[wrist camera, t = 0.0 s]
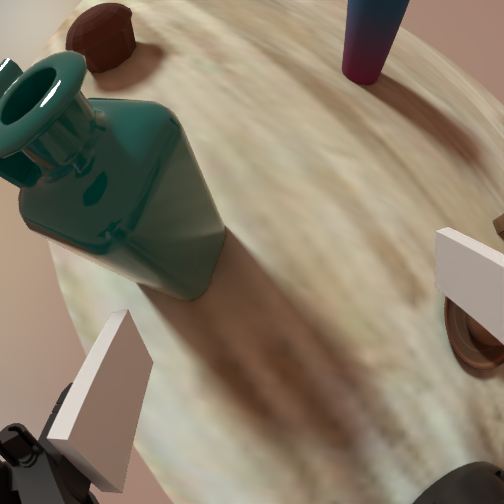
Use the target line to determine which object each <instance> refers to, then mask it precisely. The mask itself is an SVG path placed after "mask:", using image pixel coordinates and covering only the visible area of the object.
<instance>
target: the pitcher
mask: <svg viewBox="0 0 504 504" xmlns="http://www.w3.org/2000/svg"><path fill="white" fill-rule="evenodd" d="M86 73H87V65H86V59H85V56H84V55H82V54H80V53H77V52H75V51H65V52H59V53H55V54H53V55H51V56H49V57H47V58H45V59H43V60H41V61H39V62H37V63H36V64H34V65H33V66H32V67H30V68H29V69H28V70H26V71H25V72H24V73H23V72H22V70H21V69H20V67H19V66H18V65H17V64H16V63H15V62H13V61H12V60H10V59H4V60H3V61H2V62H1V63H0V177H2V178H3V179H5V180H7V181H8V182H10V183H12V184H14V185H16V186H17V187H19V188H20V192H19V196H18V201H19V212H20V215H21V217H22V218H23V220H24V222H25V223H26V225H27V226H28V228H29V229H30V230H32V231H33V232H35V233H37V234H38V235H40V236H42V237H44V238H46V239H48V240H50V241H52V242H53V243H55V244H57V245H59V246H61V247H63V248H65V249H67V250H69V251H71V252H73V253H75V254H77V255H79V256H81V257H83V258H85V259H87V260H89V261H91V262H93V263H95V264H97V265H99V266H101V267H103V268H105V269H107V270H110V271H112V272H114V273H116V274H118V275H120V276H122V277H125V278H127V279H129V280H131V281H133V282H136V283H138V284H141V285H143V286H146V287H148V288H151V289H153V290H156V291H159V292H161V293H164V294H167V295H169V296H172V297H175V298H177V299H180V300H183V301H184V300H193V299H195V298H197V297H199V296H201V295H202V294H203V292H204V291H205V290H206V289H207V287H208V284H209V281H210V278H211V276H212V273H213V270H214V267H215V264H216V262H217V259H218V256H219V253H220V251H221V248H222V245H223V242H224V240H225V237H226V232H225V226H224V224H223V221H222V219H221V217H220V214H219V212H218V210H217V207H216V205H215V203H214V200H213V198H212V196H211V193H210V191H209V188H208V186H207V184H206V181H205V179H204V177H203V174H202V172H201V169H200V167H199V165H198V162H197V160H196V157H195V155H194V153H193V150H192V148H191V146H190V143H189V141H188V138H187V136H186V133H185V131H184V129H183V127H182V125H181V123H180V121H179V119H178V117H177V116H176V114H175V113H174V112H173V111H171V110H170V109H168V108H167V107H165V106H163V105H162V104H160V103H158V102H154V101H142V100H128V99H108V98H88V99H86V98H85V96H84V95H83V93H82V92H81V90H80V89H81V86H82V84H83V81H84V78H85V76H86Z"/></svg>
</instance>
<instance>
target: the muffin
mask: <svg viewBox="0 0 504 504" xmlns="http://www.w3.org/2000/svg"><path fill="white" fill-rule="evenodd" d="M131 16H132V12H131V10H130V8H128V7H126V6H124V5H122V4H119V3H103V4H99V5H96V6H94V7H92V8H90V9H88V10H87V11H85V12H84V13H82V14H81V15H80V16H79V17H78V18H77V19H76V20H75V22H74V23H73V24H72V26H71V27H70V29H69V31H68V33H67V38H66V50H67V51H75V52H77V53H80V54H82V55H84V56H85V59H86V65H87V69H88V70H89V71H90V72H98V73H103V72H105V71H107V70H109V69H112V68H115V67H117V66H119V65H120V64H121V63H122V62H123V61H125V60H126V59H128V58H129V57H131V55H132V52H133V51H134V49H135V48H136V42H135V37H134V33H133V28H132V23H131Z"/></svg>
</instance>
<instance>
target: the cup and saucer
mask: <svg viewBox="0 0 504 504" xmlns="http://www.w3.org/2000/svg"><path fill="white" fill-rule="evenodd" d="M444 316H445V325H446V330H447V334H448V337H449V340H450V343H451V345H452V347H453V349H454V350H455V352H456V353H457V355H458V356H459V357H460V358H461V359H462V360H463V361H464V362H465V363H467V364H468V365H470V366H472V367H474V368H477V369H483V370H486V369H492V368H495V367H497V366H499V365H501V364H503V363H504V345H503V344H502V343H501V342H500V341H499V340H498V339H497V338H496V337H494V336H493V335H492V334H491V333H490V332H489V331H488V330H486V329H485V328H484V327H483V326H482V325H481V324H480V323H478V322H477V321H476V320H475V319H474V318H472V317H471V316H470V315H469V314H468V313H466V312H465V311H464V310H463V309H462V308H460V307H459V306H458V305H457V304H456V303H454V302H453V301H452V300H451V299H449V298H448V297H447V296H446V297H445V307H444Z"/></svg>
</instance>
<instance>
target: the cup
mask: <svg viewBox="0 0 504 504" xmlns="http://www.w3.org/2000/svg"><path fill="white" fill-rule="evenodd" d="M408 3H409V0H348V6H347V19H346V31H345V42H344V52H343V62H342V72H343V74H344V75H345V76H346V77H347V78H348V79H350V80H351V81H353V82H356V83H359V84H363V85H369V84H373V83H375V82H376V81H377V80H378V77H379V75H380V73H381V70H382V68H383V66H384V63H385V61H386V58H387V56H388V54H389V51H390V49H391V46H392V44H393V41H394V39H395V36H396V34H397V31H398V29H399V26H400V24H401V21H402V19H403V16H404V14H405V11H406V8H407V6H408Z"/></svg>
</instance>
